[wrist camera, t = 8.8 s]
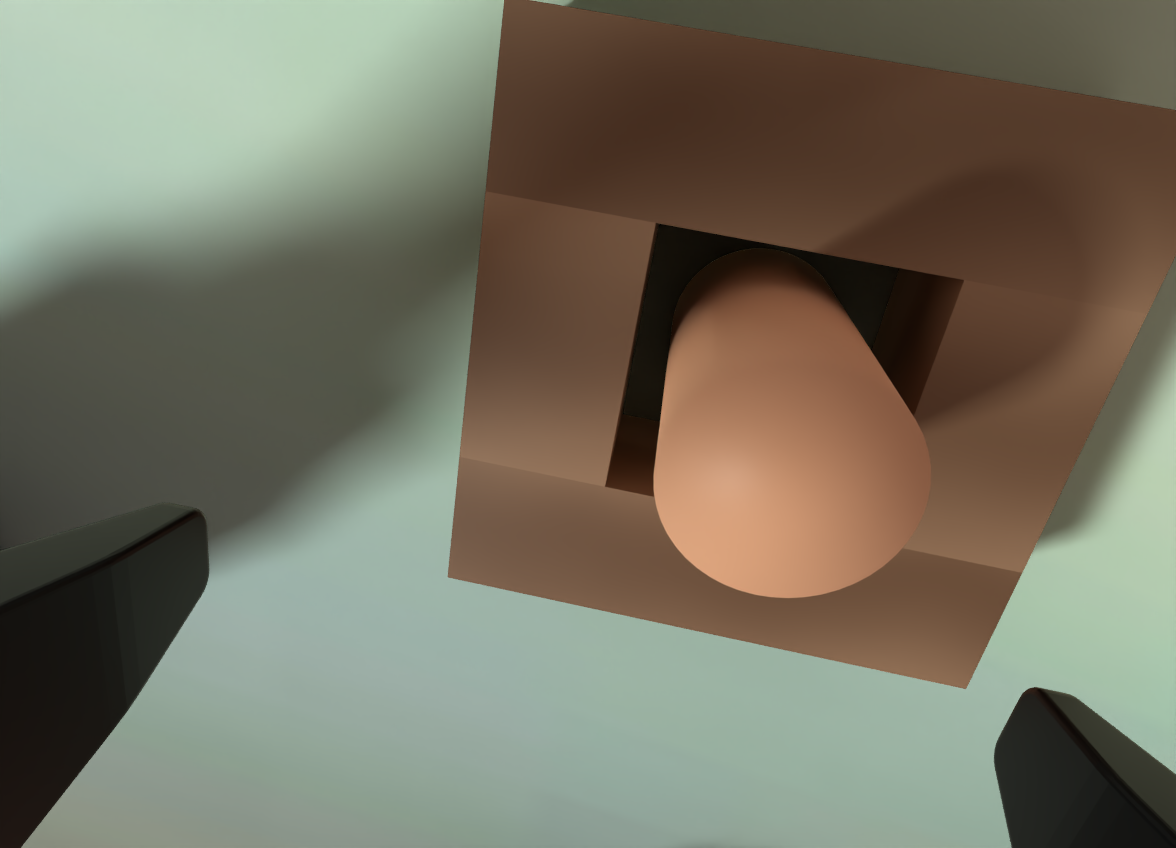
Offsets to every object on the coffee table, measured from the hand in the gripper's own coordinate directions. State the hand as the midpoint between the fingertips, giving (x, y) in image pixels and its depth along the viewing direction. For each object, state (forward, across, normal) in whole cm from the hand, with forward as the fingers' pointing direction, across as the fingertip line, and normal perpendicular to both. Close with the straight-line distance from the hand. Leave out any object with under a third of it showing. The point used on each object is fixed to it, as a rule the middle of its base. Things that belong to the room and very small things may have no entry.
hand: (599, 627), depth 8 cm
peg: (+12, -2, 0) cm, 12 cm away
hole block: (+12, -2, 0) cm, 12 cm away
